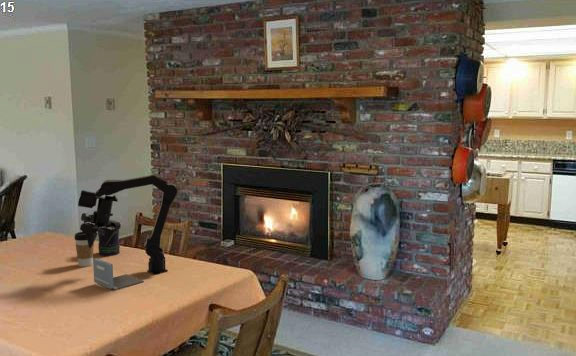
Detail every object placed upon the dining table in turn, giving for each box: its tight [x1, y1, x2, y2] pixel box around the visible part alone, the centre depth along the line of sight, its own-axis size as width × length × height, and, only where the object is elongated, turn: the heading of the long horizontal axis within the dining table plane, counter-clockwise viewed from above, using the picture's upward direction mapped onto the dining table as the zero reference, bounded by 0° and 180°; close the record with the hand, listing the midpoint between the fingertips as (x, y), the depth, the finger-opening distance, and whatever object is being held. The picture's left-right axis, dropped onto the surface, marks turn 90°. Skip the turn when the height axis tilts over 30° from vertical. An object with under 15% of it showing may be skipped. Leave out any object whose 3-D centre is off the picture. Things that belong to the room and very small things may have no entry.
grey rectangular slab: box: [92, 257, 114, 290], centre depth 200 cm, size 2×12×10 cm, turn 49°
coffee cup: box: [74, 231, 95, 268], centre depth 229 cm, size 8×8×15 cm
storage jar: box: [97, 228, 121, 257], centre depth 248 cm, size 10×10×15 cm
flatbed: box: [110, 273, 145, 291], centre depth 207 cm, size 13×13×1 cm
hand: (97, 246), depth 213 cm, fingers open, 9 cm apart
